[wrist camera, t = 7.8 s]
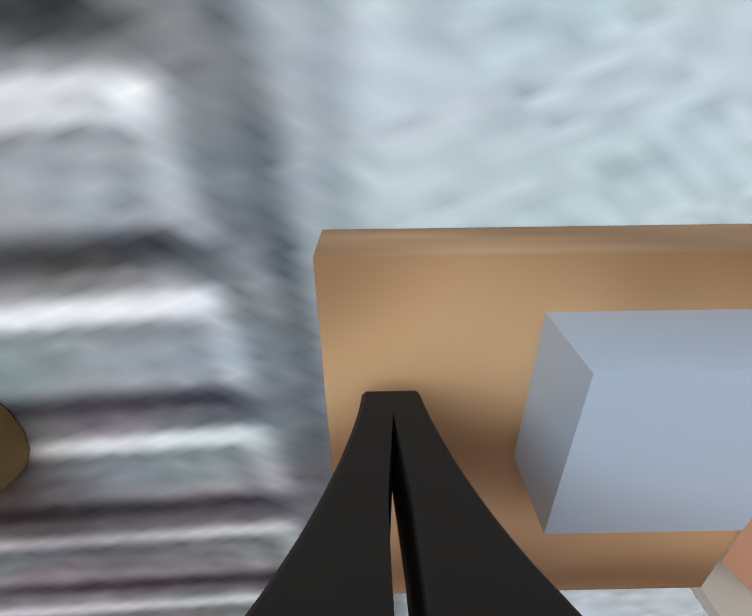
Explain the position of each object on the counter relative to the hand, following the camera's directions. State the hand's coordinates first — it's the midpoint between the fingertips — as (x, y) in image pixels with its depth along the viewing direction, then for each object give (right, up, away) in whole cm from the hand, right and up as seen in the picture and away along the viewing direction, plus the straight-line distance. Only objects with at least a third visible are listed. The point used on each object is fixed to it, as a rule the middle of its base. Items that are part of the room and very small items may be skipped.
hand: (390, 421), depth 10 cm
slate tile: (+6, +1, +1) cm, 6 cm away
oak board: (+5, -1, +4) cm, 7 cm away
